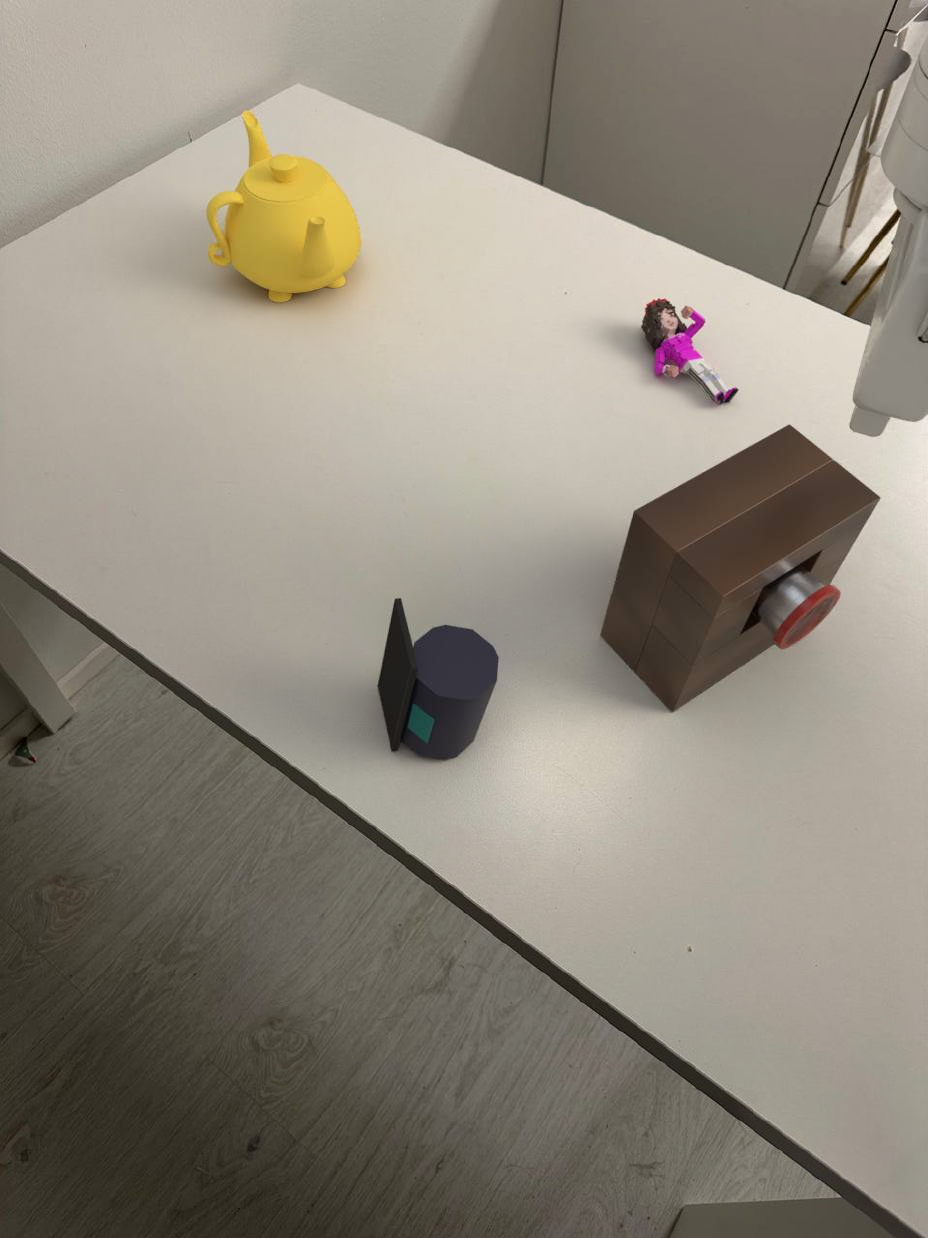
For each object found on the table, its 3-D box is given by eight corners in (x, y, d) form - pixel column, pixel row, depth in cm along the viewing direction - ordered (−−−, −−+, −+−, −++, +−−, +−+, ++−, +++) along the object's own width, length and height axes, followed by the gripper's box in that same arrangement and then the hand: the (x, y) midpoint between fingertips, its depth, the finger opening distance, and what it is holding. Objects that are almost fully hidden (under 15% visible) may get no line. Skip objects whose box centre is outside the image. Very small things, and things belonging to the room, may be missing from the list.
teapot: (186, 236, 97) (160, 124, 87) (322, 204, 101) (311, 93, 91) (249, 354, 87) (227, 242, 77) (397, 313, 91) (394, 202, 81)
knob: (823, 624, 64) (852, 578, 59) (769, 661, 62) (795, 616, 57) (780, 585, 65) (805, 537, 61) (726, 619, 64) (748, 572, 59)
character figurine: (741, 402, 87) (663, 316, 91) (761, 362, 82) (677, 274, 86) (693, 425, 85) (615, 337, 89) (710, 386, 80) (628, 295, 85)
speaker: (362, 755, 64) (372, 670, 55) (377, 684, 67) (388, 595, 59) (473, 774, 64) (498, 693, 56) (482, 703, 68) (507, 617, 59)
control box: (808, 621, 72) (881, 497, 60) (672, 713, 67) (723, 596, 55) (734, 553, 75) (789, 423, 64) (599, 634, 70) (633, 510, 59)
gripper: (1049, 280, 38) (909, 513, 49) (1070, 60, 49) (952, 291, 60) (888, 242, 39) (787, 477, 50) (944, 36, 50) (852, 267, 61)
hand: (877, 374), depth 55 cm, fingers open, 8 cm apart
